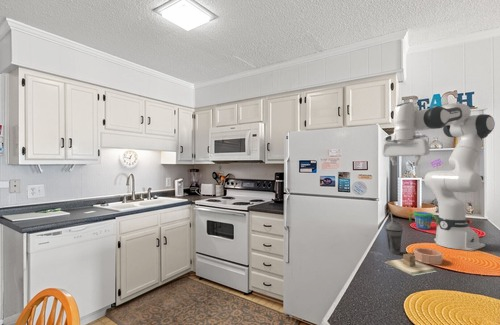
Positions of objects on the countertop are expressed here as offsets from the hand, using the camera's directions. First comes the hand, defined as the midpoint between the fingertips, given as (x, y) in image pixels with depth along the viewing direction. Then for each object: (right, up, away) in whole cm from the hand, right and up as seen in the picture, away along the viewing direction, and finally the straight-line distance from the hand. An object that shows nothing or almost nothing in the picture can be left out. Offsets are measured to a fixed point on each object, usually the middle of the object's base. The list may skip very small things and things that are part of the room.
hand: (404, 165), depth 122 cm
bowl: (+5, -42, -9) cm, 43 cm away
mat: (-8, -42, -16) cm, 46 cm away
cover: (-8, -42, -16) cm, 45 cm away
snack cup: (+40, -42, +47) cm, 75 cm away
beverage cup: (-4, -42, +1) cm, 43 cm away
